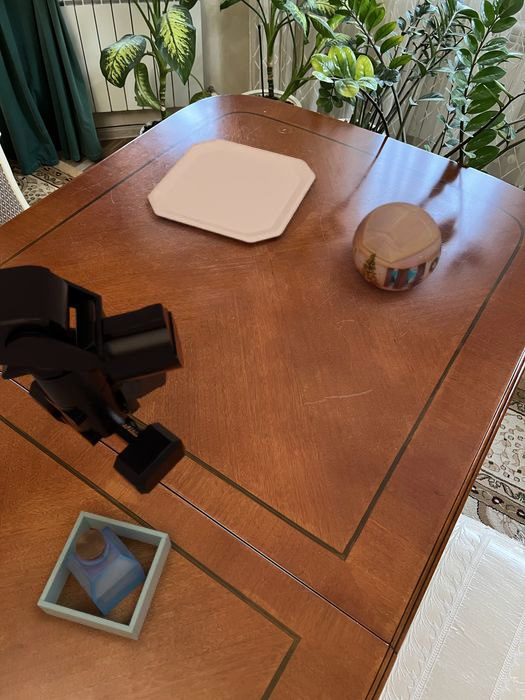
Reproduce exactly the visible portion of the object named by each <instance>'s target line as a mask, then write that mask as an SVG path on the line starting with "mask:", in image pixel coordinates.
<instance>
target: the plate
mask: <svg viewBox="0 0 525 700" xmlns="http://www.w3.org/2000/svg"><path fill="white" fill-rule="evenodd" d="M315 180H316V174H315V173H314V171H313V170H312V169H311V167H310V166H309V165H308V164H307V163H306V161H305V160H303V159H300V158H296V157H293V156H289V155H285V154H281V153H277V152H274V151H270V150H265V149H262V148H258V147H253V146H250V145H246V144H241V143H238V142H234V141H230V140H226V139H222V138H215V139H210V140H205V141H200V142H195V143H193V144H191V146H190V147H188V149H187V150H186V151H185V153H184V154H183V155H182V156H181V157H180V158H179V159H178V160H177V162H176V163H175V164H174V165H173V166H172V167H171V169H170V170H168V172H167V173H166V174H165V176H163V177H162V178H161V180H160V181H159V182H158V184H156V185H155V186H154V188H153V189H152V190H151V191H150V192H149V193H148V194H147V200H148V202H149V204H150V206H151V209H152V211H153V213H154V215H156V216H157V217H159V218H160V219H161V218H162V219H165V220H167V221H168V220H169V221H172V222H175V223H178V224H182V225H184V226H188V227H191V228H195V229H199V230H201V231H206V232H208V233H211V234H215V235H219V236H222V237H226V238H228V239H232V240H236V241H239V242H243V243H246V244H257V243H260V242H264V241H268V240H272V239H275V238H279V237H280V236H282V235H283V233H284V231H285V230H286V228H287V226H288V225H289V224H290V221H291V220H292V218H293V216H294V215H295V213H296V212H297V210H298V208H299V207H300V206H301V203H302V202H303V200H304V198H305V196H306V195H307V193H308V192H309V190H310V188H311V187H312V185H313V183H314V182H315Z"/></svg>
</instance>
